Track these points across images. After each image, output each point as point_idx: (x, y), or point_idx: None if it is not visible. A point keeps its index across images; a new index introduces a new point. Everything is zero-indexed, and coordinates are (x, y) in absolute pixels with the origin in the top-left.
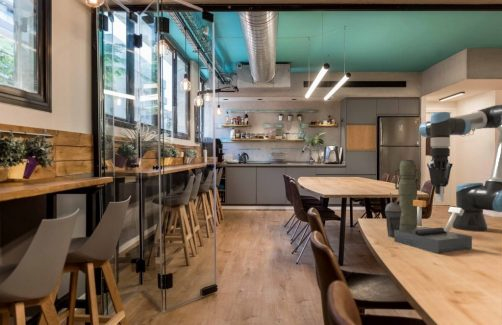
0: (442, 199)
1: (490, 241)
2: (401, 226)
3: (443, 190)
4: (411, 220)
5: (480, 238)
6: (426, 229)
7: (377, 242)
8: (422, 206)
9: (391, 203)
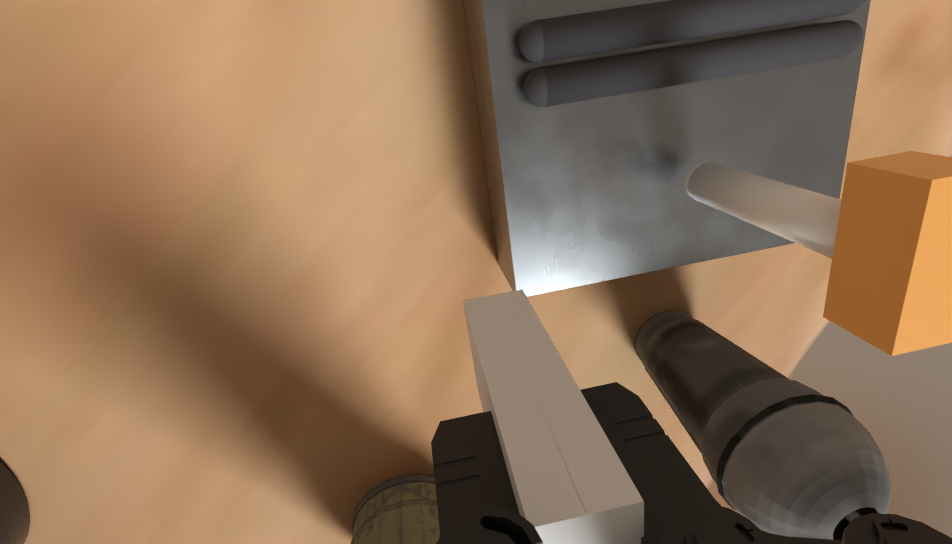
0: (493, 314)
1: (23, 27)
2: None
3: (504, 438)
4: (429, 532)
5: (44, 157)
6: (751, 44)
7: None
8: (917, 153)
9: (886, 505)
